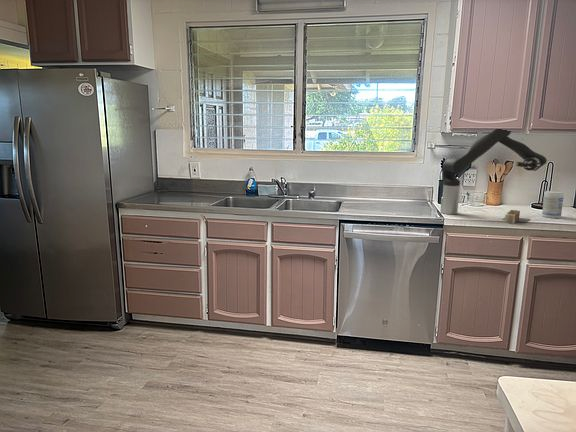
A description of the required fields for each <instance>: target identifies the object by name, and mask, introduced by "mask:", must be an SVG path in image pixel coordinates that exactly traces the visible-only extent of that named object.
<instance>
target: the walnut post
mask: <svg viewBox="0 0 576 432" xmlns="http://www.w3.org/2000/svg"><path fill="white" fill-rule="evenodd" d="M520 215H521V210H517V209H510V210H509V211H508V212H507V213H505V215H504V218H505V220H504V224H505V223H506V224H507V223H508V224H512V225H513V224H516V223H517V222H516V221H517V220H518V219H519V218H520Z"/></svg>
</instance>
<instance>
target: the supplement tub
mask: <svg viewBox="0 0 576 432" xmlns="http://www.w3.org/2000/svg"><path fill="white" fill-rule="evenodd" d="M564 193H565V192H562V191H554V190H546V191H544V195H543V202H542V211H541V213H542V214H541V216H542V217H544V218H547V219H548V218H549V219H559V218H562V212H563V203H564V197H565V196H564Z"/></svg>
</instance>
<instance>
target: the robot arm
mask: <svg viewBox="0 0 576 432" xmlns="http://www.w3.org/2000/svg"><path fill="white" fill-rule="evenodd" d="M511 133H512V131H507V130H502V129H495V130H493V131H492V132H490V131H489V133H487V134H485V135H483V136H481V137H479V138H478V139H477V140H475V141H473V142H472V143H471V144H470V145H469V146H468V148H467V150H466V153H465V154H464V155H462V156H461V157H459V158H458V157H457V158H453V157H451V158H449V157H448V158H446V159H445V160H444V162H443V164H442V182H443V185H442V187H443V189H442V197H440V198H441V199H440V211H439V212H440V213H442V214H446V215H457V214H458V212H459V211H458V210H459V201H460V189H461V187H460V185H461V181H460V180H459V179H458V178H457V177H456V175H459V174H461V173H463V172H464V171H465V170H466V169H467V168H468V167H469V166H470V165H471V164H472V163H474V162H475V161H476V160H477V159H479V158H480V157H482V156H483V155H484V154H486V152H488V151H489V150H490V149H492V148H493V147H494V146H495V145H496V144H498V143H500V144H501V145H503V146H505V147H507V148H509V149H510V150H511V151H513V152H514V153H516V154H517V155H518V156H519V157H521V158H522V159H523V161H516V163H515V164H516V165H515V166H516V167H520V168H522V167H523V169H524V170H526V171H533V172H535V171H538V170H539V169H540V168H541V167H543V166H544V165H546V164H547V158H546V157H545V156H544V155H542V154H540V153H537V152H536V151H533V150H532V149H531V148H530V147H529V146H527V145H526V144H525V143H522V142H521V141H518V140H516V139H512V138H511V137H509V136H510V135H511Z"/></svg>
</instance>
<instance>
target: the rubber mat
mask: <svg viewBox="0 0 576 432" xmlns="http://www.w3.org/2000/svg"><path fill="white" fill-rule="evenodd" d="M501 220H502V221H505V217H503V218H502V219H501ZM530 220H531V218H528V217H527V218H525V217H519V219H518V220H517V221H516V222H515V223H518V222H519V223H528V222H529V221H530Z"/></svg>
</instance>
